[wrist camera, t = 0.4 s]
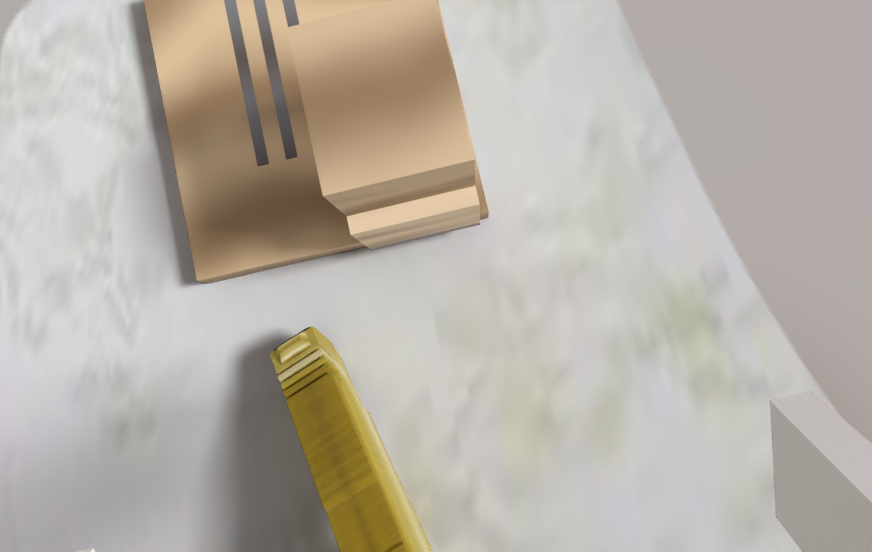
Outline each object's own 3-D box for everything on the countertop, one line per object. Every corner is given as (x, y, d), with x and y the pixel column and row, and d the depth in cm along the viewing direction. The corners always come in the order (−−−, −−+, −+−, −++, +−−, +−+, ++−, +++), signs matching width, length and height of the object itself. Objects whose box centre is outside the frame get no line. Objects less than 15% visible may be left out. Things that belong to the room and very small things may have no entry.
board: (488, 217, 32) (488, 212, 31) (209, 283, 33) (196, 281, 32) (420, -68, 34) (417, -86, 32) (155, 1, 35) (140, -14, 33)
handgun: (521, 773, 28) (427, 823, 18) (368, 424, 39) (262, 344, 30) (568, 743, 28) (499, 777, 18) (401, 403, 39) (305, 315, 30)
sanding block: (479, 224, 31) (479, 181, 22) (371, 250, 31) (327, 217, 22) (443, 71, 32) (429, -31, 23) (337, 97, 32) (282, 6, 23)
